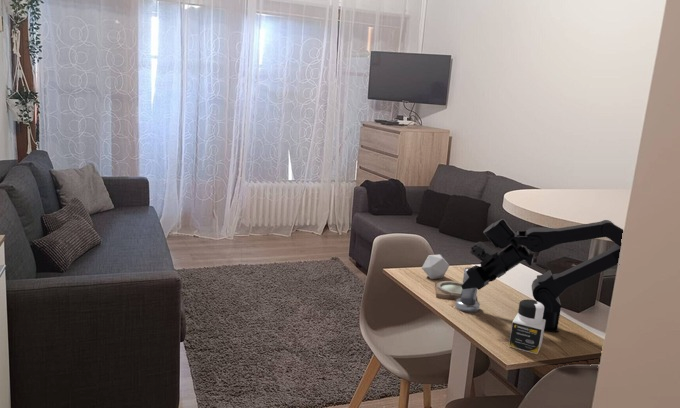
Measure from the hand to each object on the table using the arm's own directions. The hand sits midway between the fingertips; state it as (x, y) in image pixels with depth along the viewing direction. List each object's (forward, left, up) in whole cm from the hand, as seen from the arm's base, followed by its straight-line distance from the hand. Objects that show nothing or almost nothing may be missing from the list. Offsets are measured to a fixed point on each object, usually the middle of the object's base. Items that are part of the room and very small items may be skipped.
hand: (465, 285), depth 166 cm
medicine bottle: (-14, +23, -7) cm, 28 cm away
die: (+8, -25, -7) cm, 27 cm away
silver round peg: (-1, +1, -7) cm, 7 cm away
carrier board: (+2, -11, -7) cm, 13 cm away
